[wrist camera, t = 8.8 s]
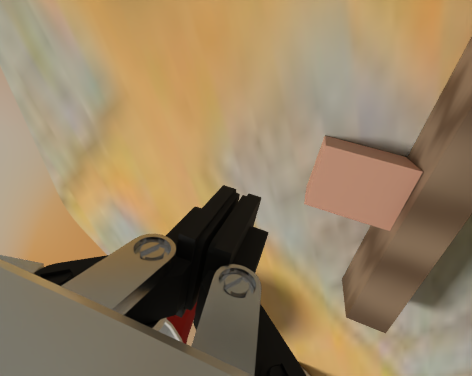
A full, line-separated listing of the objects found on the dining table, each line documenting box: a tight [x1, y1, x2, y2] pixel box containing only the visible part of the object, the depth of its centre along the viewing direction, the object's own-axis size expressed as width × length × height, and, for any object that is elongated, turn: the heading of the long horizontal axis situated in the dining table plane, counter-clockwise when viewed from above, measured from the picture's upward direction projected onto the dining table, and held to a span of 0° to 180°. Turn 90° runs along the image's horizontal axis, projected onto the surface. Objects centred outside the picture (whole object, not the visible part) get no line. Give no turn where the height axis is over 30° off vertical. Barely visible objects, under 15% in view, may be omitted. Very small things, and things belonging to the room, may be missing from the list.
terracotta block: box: [304, 136, 423, 231], centre depth 26 cm, size 6×8×5 cm
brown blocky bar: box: [342, 37, 472, 333], centre depth 24 cm, size 28×4×6 cm, turn 167°
